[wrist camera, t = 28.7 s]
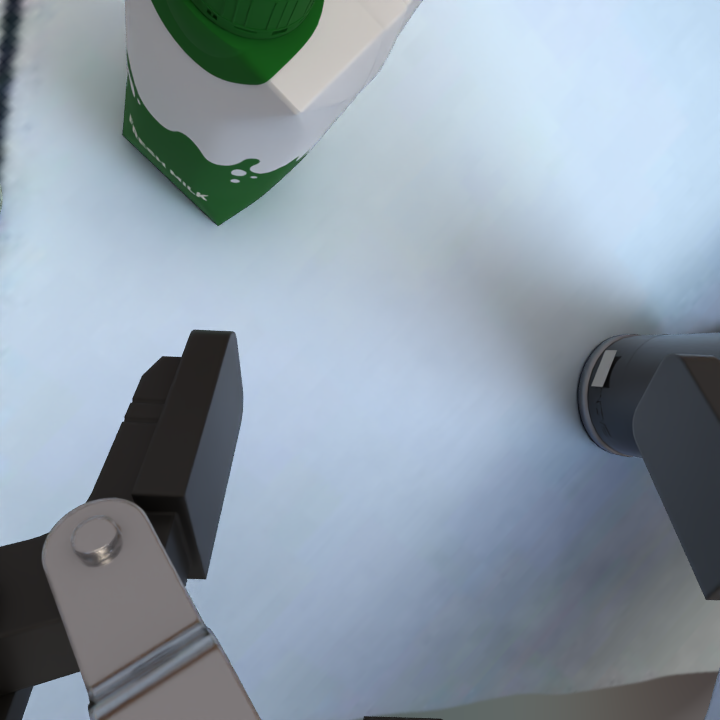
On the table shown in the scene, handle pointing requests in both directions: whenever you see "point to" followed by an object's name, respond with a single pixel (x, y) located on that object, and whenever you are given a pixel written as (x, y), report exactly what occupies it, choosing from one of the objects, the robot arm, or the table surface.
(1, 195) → the drink can
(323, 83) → the milk carton
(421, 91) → the table surface
